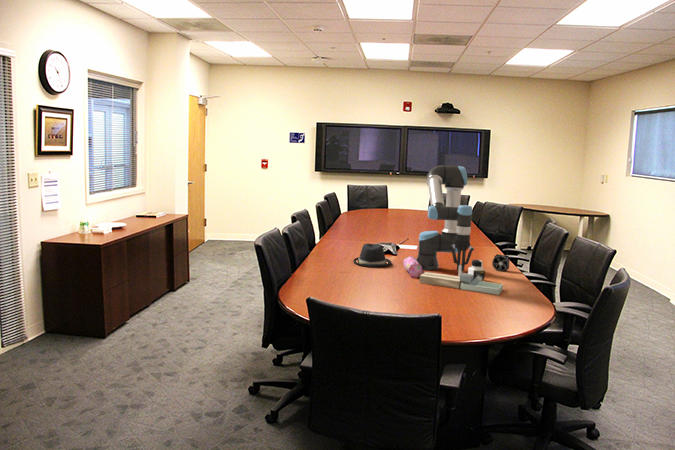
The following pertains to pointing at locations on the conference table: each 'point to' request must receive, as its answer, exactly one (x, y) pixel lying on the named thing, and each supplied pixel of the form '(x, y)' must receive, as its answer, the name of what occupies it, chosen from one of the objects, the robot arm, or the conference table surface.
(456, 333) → the conference table surface
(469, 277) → the tile rear
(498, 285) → the tray
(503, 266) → the cpu cooler
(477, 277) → the tile front
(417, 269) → the pencil case
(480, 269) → the medicine bottle
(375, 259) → the fedora
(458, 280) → the wooden block
